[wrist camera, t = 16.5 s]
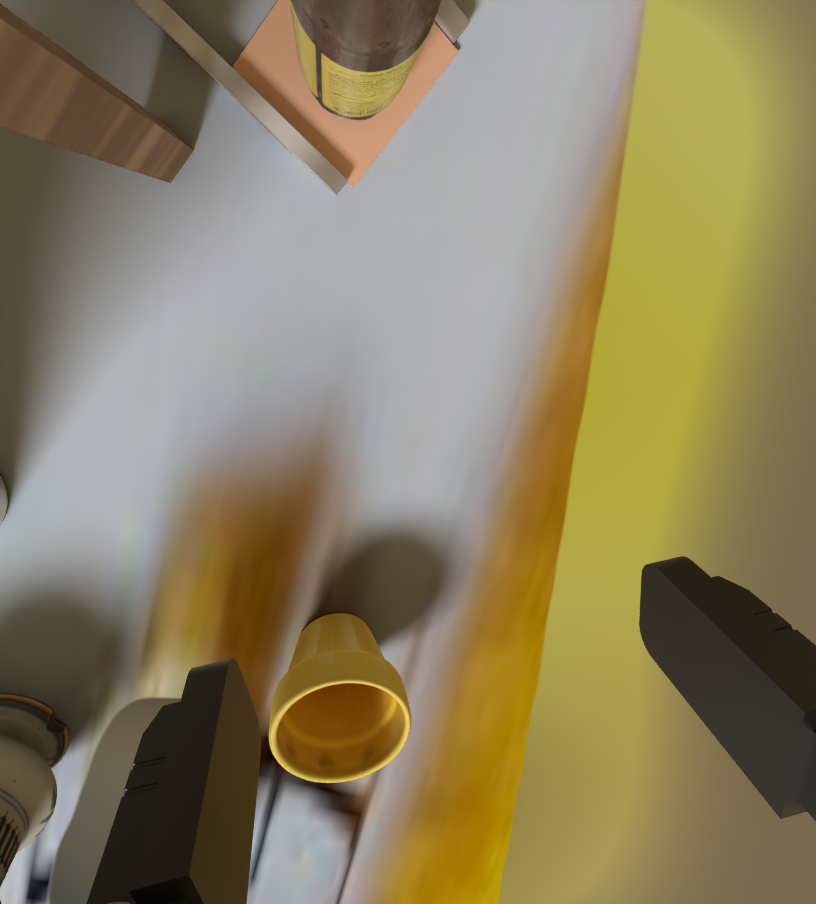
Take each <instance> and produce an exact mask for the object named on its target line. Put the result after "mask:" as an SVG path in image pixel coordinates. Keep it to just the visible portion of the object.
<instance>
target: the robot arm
mask: <svg viewBox="0 0 816 904" xmlns="http://www.w3.org/2000/svg"><path fill="white" fill-rule="evenodd" d="M7 504H8V500H7V491H6V488H5V485H4V482H3V480H2V477H1V476H0V524H1V523H2V521H3V518H4V516H5V514H6V509H7ZM641 579H642V580H641V599H640V621H639V626H640V632H641V636H642V639H643V642H644V645H645V647H646V649H647V651H648V652H649V654H650V655H651V657H652V658H653V659H654V661H655V662H656V663H657V664H658V666H659V667H660V668H661V670H662V671H663V672H664V673H665V674H666V676H667V677H668V678H669V679H670V681H671V682H672V683H673V685H674V686H675V687H676V688H677V690H678V691H679V692H680V693H681V695H682V696H683V697H684V698H685V700H686V701H687V702H688V703H689V705H690V706H691V707H692V708H693V710H694V711H695V712H696V713H697V715H698V716H699V717H700V718H701V720H702V721H703V722H704V723H705V725H706V726H707V727H708V728H709V730H710V731H711V732H712V733H713V735H714V736H715V737H716V738H717V740H718V741H719V742H720V744H721V745H722V746H723V747H724V749H725V750H726V751H727V752H728V754H729V755H730V756H731V757H732V759H733V760H734V761H735V762H736V764H737V765H738V766H739V767H740V769H741V770H742V771H743V772H744V774H745V775H746V776H747V777H748V779H749V780H750V781H751V782H752V784H753V785H754V786H755V787H756V789H757V790H758V791H759V792H760V794H761V795H762V796H763V797H764V799H765V800H766V801H767V802H768V804H769V805H770V806H771V807H772V809H773V810H774V811H775V812H776V814H777V815H778V816H779V817H780V819H782V818H786V817H789V816H792V815H796V814H799V813H803V812H808V813H809V814H810V815H811V816H812V817H813V819H814V820H815V821H816V645H815V644H813V643H812V642H811V641H810V640H808V639H807V638H806V637H805V636H804V635H802V634H801V633H800V632H799V631H798V630H793V629H792V627H791V625H790V624H789V623H788V622H787V621H785V620H784V619H783V618H782V617H780V616H779V615H778V614H777V613H775V614H774V613H773V612H772V609H771V608H770V607H768V606H767V605H766V604H765V603H764V602H762V601H761V600H760V599H759V598H758V597H756V596H755V595H754V594H753V593H751V592H750V591H749V590H747V589H745V588H743V587H741V586H739V585H737V584H735V583H733V582H730V581H728V580H726V579H724V578H722V577H720V576H716V577H712V578H711V577H710V576H709V575H708V574H706V573H705V572H704V571H703V570H702V569H701V568H699V567H698V566H697V565H696V564H695V563H694V562H693V561H691V560H690V559H689V558H687V557H677V558H672V559H668V560H664V561H659V562H655V563H651V564H647V565H645V566H644V568H643V570H642V578H641ZM260 754H261V738H260V728H259V723H258V718H257V715H256V712H255V709H254V706H253V704H252V701H251V698H250V695H249V693H248V690H247V687H246V684H245V682H244V679H243V676H242V673H241V670H240V668H239V665H238V663H237V661H236V660H235V659H229V660H225V661H221V662H216V663H212V664H208V665H203V666H199V667H195V668H192V669H191V670H190V671H189V673H188V676H187V680H186V683H185V687H184V691H183V694H182V698H181V702H177V703H173V704H169V705H165V706H163V707H162V708H161V710H160V711H159V712H158V714H157V715H156V717H155V718H154V719H153V721H152V722H151V723H150V725H149V726H148V728H147V729H146V730H145V732H144V733H143V735H142V738H141V741H140V744H139V747H138V750H137V753H136V756H135V759H134V762H133V770H131V771H130V774H129V777H128V780H127V783H126V786H125V789H124V791H125V795H124V797H122V799H121V801H120V804H119V807H118V810H117V813H116V816H115V820H114V823H113V825H112V828H111V831H110V835H109V838H108V841H107V844H106V847H105V850H104V853H103V856H102V859H101V862H100V865H99V868H98V871H97V874H96V877H95V880H94V883H93V886H92V889H91V892H90V895H89V898H88V901H87V903H86V904H246V902H247V892H248V881H249V871H250V860H251V849H252V839H253V828H254V818H255V807H256V797H257V786H258V775H259V765H260Z"/></svg>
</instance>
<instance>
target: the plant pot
mask: <svg viewBox="0 0 816 904" xmlns="http://www.w3.org/2000/svg"><path fill="white" fill-rule="evenodd" d="M410 728H411V713H410V708H409V704H408V699H407V695H406V692H405V688H404V685H403V682H402V679H401V677H400V675H399V673H398V672H397V670H396V669H395V668H394V667H393V666H392V665H391V664H390V663H389V662H388V661H387V660H385V659H384V657H383V655H382V653H381V651H380V649H379V647H378V644H377V642H376V640H375V638H374V636H373V634H372V632H371V630H370V628H369V627H368V625H367V624H366V623H365V622H364V621H363V620H361V619H360V618H358V617H356V616H354V615H351V614H345V613H334V614H329V615H325V616H322V617H320V618H318V619H316V620H314V621H313V622H311V623H310V624H309V625H308V626H307V627H306V628H305V629H304V630H303V632H302V633H301V635H300V637H299V640H298V643H297V646H296V649H295V652H294V655H293V658H292V661H291V664H290V667H289V670H288V672H287V673H286V674H285V675H284V676H283V678H282V679H281V680H280V682H279V684H278V686H277V688H276V690H275V692H274V696H273V701H272V707H271V714H270V725H269V743H270V747H271V750H272V753H273V755H274V757H275V758H276V760H277V761H278V762H279V764H280V765H281V766H282V767H283V768H285V769H286V770H287V771H288V772H290V773H292V774H293V775H295V776H298V777H300V778H303V779H305V780H309V781H315V782H323V783H336V782H345V781H351V780H354V779H358V778H361V777H364V776H366V775H369V774H371V773H373V772H375V771H377V770H379V769H380V768H382V767H383V766H385V765H386V764H388V763H389V762H390V761H391V760H392V759H393V758H395V757H396V756H397V754H398V753H399V752H400V751H401V749H402V748H403V746H404V745H405V743H406V741H407V739H408V736H409V733H410Z"/></svg>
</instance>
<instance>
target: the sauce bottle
mask: <svg viewBox="0 0 816 904" xmlns="http://www.w3.org/2000/svg"><path fill="white" fill-rule="evenodd" d="M289 1H290V8H291V15H292V22H293V28H294V35H295V42H296V49H297V56H298V61H299V65H300V69H301V72H302V74H303V76H304V79H305V81H306V83H307V85H308V87H309V89H310V90H311V92H312V94H313V96H314V97H315V98H316V100H317V101H318V102H319V104H320V105H321V106H322V107H323V108H324V109H325V110H327V111H328V112H330V113H332V114H335V115H337V116H339V117H342V118H346V119H351V120H366V119H370V118H372V117H373V116H374V115H376V114H377V113H379V112H380V111H382V110H383V109H384V108H386V107H387V106H388V105H389V104H390V103H391V102H392V101H393V100H394V99H395V97H396V96H397V95H398V93H399V92H400V90H401V88H402V87H403V85H404V83H405V81H406V79H407V77H408V75H409V73H410V71H411V68H412V66H413V64H414V62H415V60H416V58H417V56H418V54H419V52H420V50H421V49H422V47H423V45H424V43H425V41H426V39H427V37H428V35H429V33H430V30H431V28H432V26H433V24H434V22H435V19H436V17H437V14H438V11H439V8H440V5H441V1H442V0H289Z"/></svg>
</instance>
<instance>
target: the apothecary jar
mask: <svg viewBox="0 0 816 904" xmlns="http://www.w3.org/2000/svg"><path fill="white" fill-rule="evenodd" d="M68 744H69V734H68V730H67V727H66V726H65V725H63V724H61V723H60V722H58V721H57V720H55V719H54V717H53V710H52V709H50V708H49V707H47V706H46V705H44V704H42V703H40V702H38V701H36V700H33V699H31V698H27V697H23V696H18V695H11V694H0V887H1V884H2V882H3V880H4V878H5V876H6V874H7V872H8V869H9V867H10V865H11V863H12V861H13V859H14V857H15V855H16V853H17V852H18V851H20V850H21V849H23V848H24V847H26V846H27V845H28V844H29V843H31V842H32V841H33V840H34V839H35V838H36V837H37V836H38V835H39V834H40V833H41V832H42V830H43V829H44V828H45V826H46V825H47V823H48V821H49V820H50V818H51V816H52V814H53V811H54V808H55V804H56V798H57V785H56V780H55V777H54V774H53V772H52V770H51V769H52V768H53V767H54V766H56V765H57V764H58V763H59V762H60V761H61V759H62V757H63V756H64V755H65V753H66V751H67V748H68ZM0 904H1V902H0Z"/></svg>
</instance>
